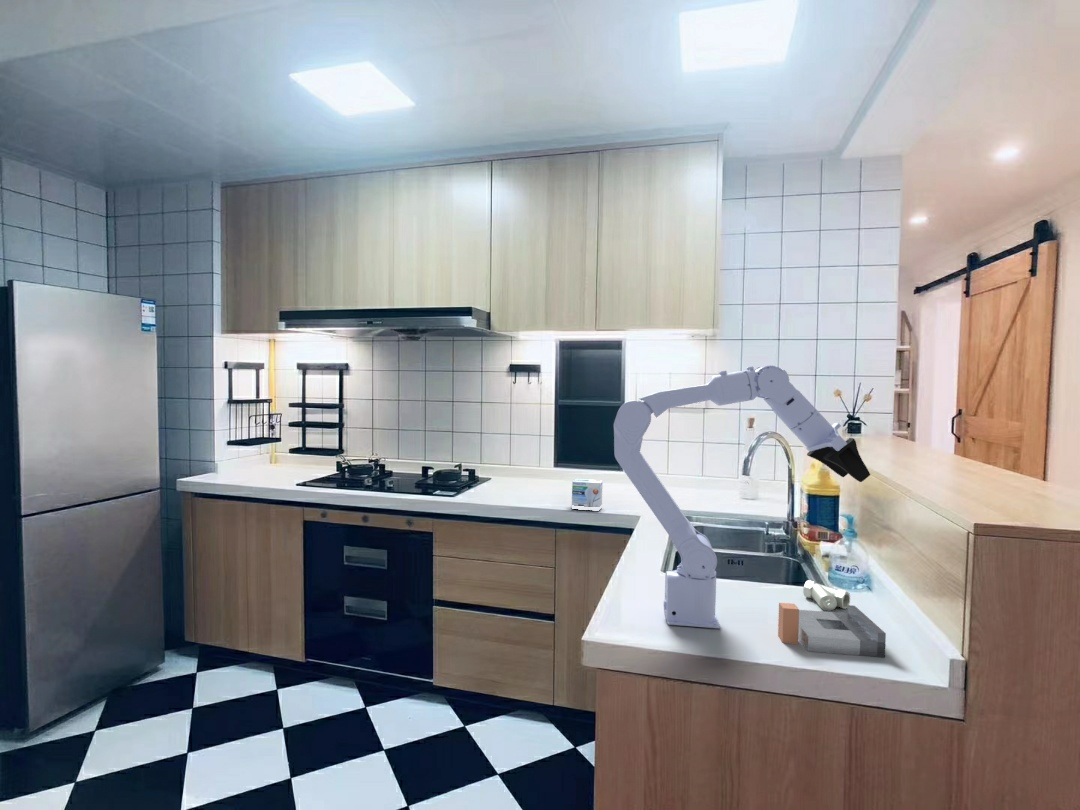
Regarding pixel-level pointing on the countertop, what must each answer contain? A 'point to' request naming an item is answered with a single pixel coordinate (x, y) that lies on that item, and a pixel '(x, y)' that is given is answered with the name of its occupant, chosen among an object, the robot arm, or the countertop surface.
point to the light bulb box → (587, 493)
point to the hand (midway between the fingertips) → (855, 475)
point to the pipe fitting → (826, 596)
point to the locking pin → (788, 623)
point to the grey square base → (841, 633)
